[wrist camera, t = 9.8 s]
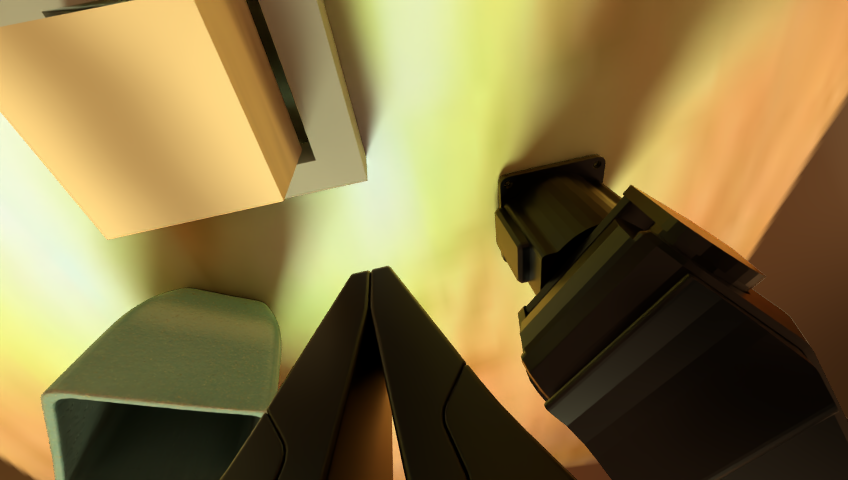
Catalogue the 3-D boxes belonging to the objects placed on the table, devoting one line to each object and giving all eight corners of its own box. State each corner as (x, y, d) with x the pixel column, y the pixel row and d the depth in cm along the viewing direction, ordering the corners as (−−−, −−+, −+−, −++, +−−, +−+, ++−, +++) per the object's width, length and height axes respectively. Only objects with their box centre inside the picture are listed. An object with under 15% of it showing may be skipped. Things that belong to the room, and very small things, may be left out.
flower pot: (142, 351, 25) (53, 498, 18) (147, 253, 21) (35, 392, 14) (274, 368, 28) (245, 500, 21) (301, 285, 24) (277, 413, 17)
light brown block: (242, -9, 13) (188, -12, 9) (302, 149, 16) (283, 200, 12) (73, 24, 13) (-61, 38, 9) (170, 178, 16) (107, 240, 12)
